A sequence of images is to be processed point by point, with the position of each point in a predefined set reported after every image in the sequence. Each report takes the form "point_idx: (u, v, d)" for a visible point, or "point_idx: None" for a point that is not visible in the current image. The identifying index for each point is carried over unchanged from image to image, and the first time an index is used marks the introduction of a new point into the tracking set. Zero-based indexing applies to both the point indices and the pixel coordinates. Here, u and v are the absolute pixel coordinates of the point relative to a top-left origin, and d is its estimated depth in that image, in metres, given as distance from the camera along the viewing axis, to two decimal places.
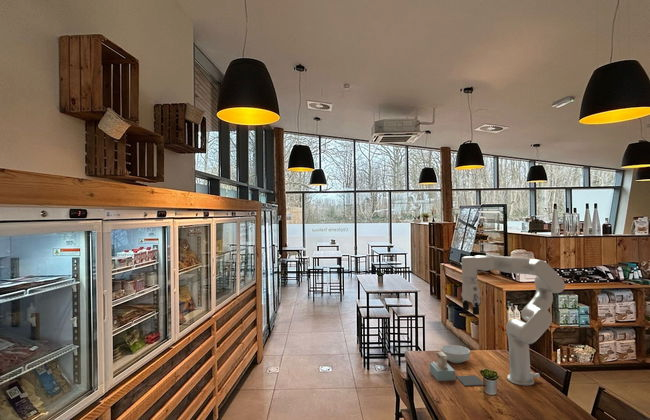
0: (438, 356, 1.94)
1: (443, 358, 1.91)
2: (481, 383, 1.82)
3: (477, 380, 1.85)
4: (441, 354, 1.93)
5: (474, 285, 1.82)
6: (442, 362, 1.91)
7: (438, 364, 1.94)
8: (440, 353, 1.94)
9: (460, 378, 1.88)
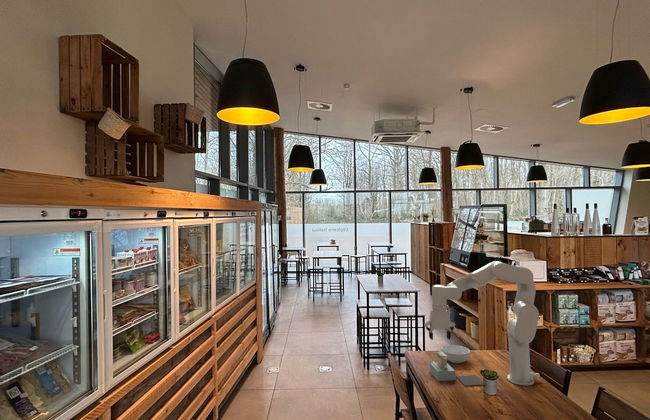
0: (438, 356, 1.94)
1: (443, 358, 1.91)
2: (481, 383, 1.82)
3: (477, 380, 1.85)
4: (441, 354, 1.93)
5: None
6: (442, 362, 1.91)
7: (438, 364, 1.94)
8: (440, 353, 1.94)
9: (460, 378, 1.88)
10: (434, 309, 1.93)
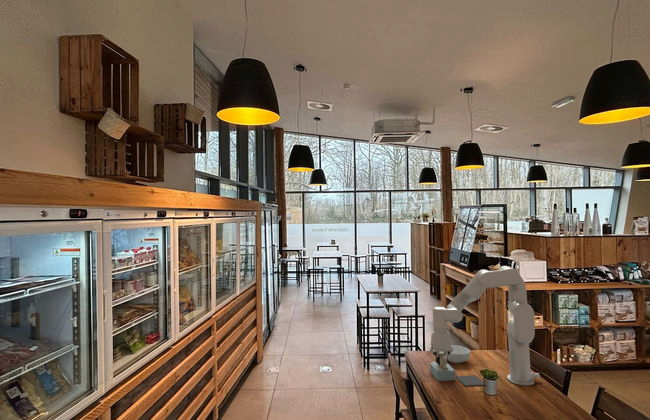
0: None
1: (443, 358, 1.91)
2: (481, 383, 1.82)
3: (477, 380, 1.85)
4: (441, 354, 1.93)
5: None
6: (442, 362, 1.91)
7: None
8: (440, 353, 1.94)
9: (460, 378, 1.88)
10: (435, 332, 1.93)
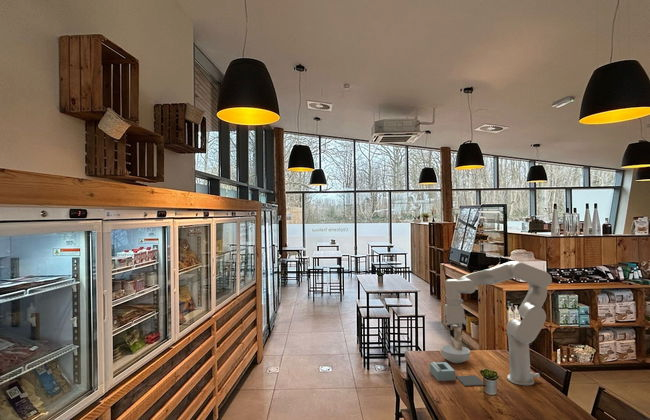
0: None
1: (457, 330, 1.87)
2: (481, 383, 1.82)
3: (477, 380, 1.85)
4: (455, 326, 1.90)
5: None
6: (456, 334, 1.87)
7: None
8: (454, 326, 1.91)
9: (460, 378, 1.88)
10: (448, 304, 1.90)
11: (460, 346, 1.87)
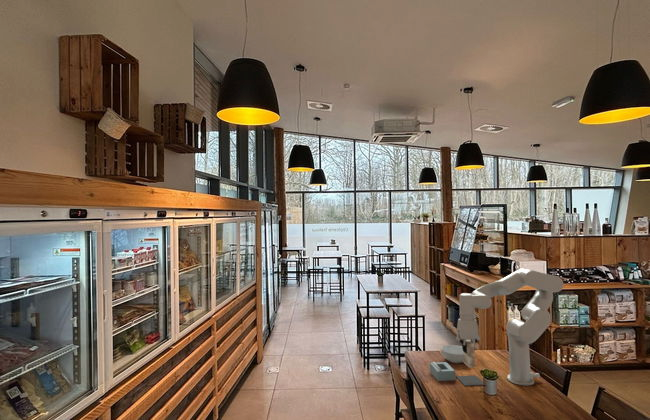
0: None
1: (470, 346, 1.84)
2: (481, 383, 1.82)
3: (477, 380, 1.85)
4: (468, 342, 1.86)
5: None
6: (469, 350, 1.84)
7: None
8: (467, 341, 1.87)
9: (460, 378, 1.88)
10: (462, 319, 1.86)
11: (473, 362, 1.83)
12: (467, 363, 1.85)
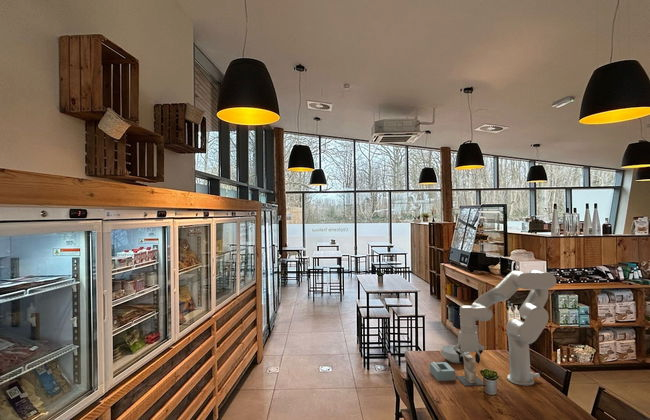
0: (466, 359, 1.87)
1: (472, 362, 1.83)
2: (481, 383, 1.82)
3: (477, 380, 1.85)
4: (469, 357, 1.86)
5: None
6: (470, 365, 1.83)
7: (466, 368, 1.86)
8: (468, 356, 1.87)
9: (460, 378, 1.88)
10: (463, 331, 1.86)
11: (474, 378, 1.83)
12: (468, 379, 1.84)
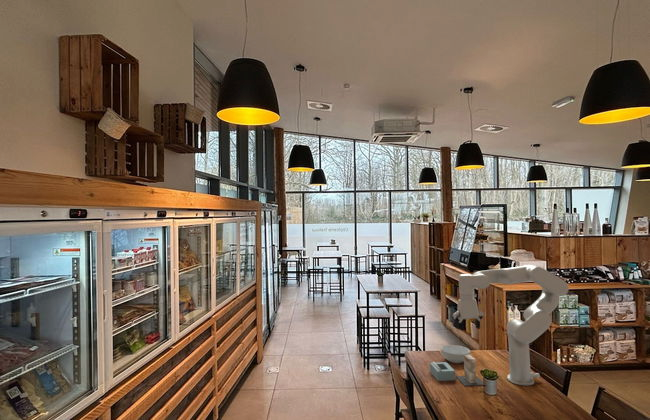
0: (466, 359, 1.87)
1: (472, 362, 1.83)
2: (481, 383, 1.82)
3: (477, 380, 1.85)
4: (469, 357, 1.86)
5: None
6: (470, 365, 1.83)
7: (466, 368, 1.86)
8: (468, 356, 1.87)
9: (460, 378, 1.88)
10: (462, 299, 1.89)
11: (474, 378, 1.83)
12: (468, 379, 1.84)
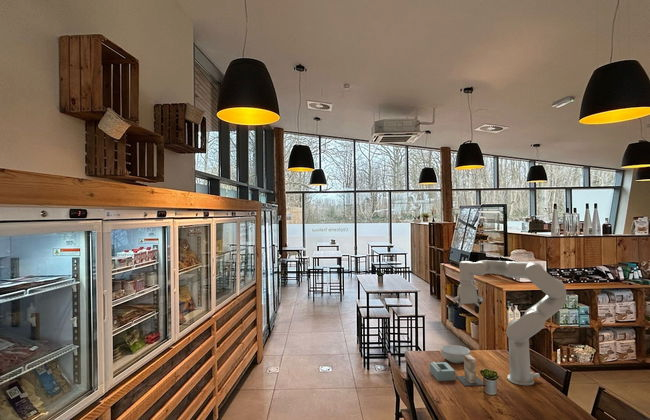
0: (466, 359, 1.87)
1: (472, 362, 1.83)
2: (481, 383, 1.82)
3: (477, 380, 1.85)
4: (469, 357, 1.86)
5: None
6: (470, 365, 1.83)
7: (466, 368, 1.86)
8: (468, 356, 1.87)
9: (460, 378, 1.88)
10: (462, 284, 1.99)
11: (474, 378, 1.83)
12: (468, 379, 1.84)
